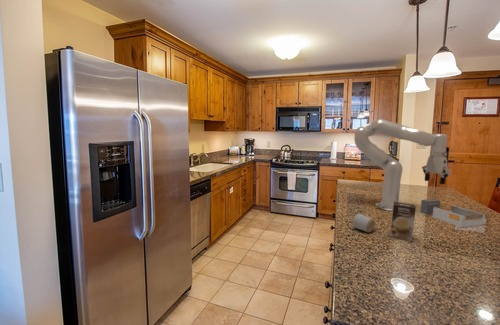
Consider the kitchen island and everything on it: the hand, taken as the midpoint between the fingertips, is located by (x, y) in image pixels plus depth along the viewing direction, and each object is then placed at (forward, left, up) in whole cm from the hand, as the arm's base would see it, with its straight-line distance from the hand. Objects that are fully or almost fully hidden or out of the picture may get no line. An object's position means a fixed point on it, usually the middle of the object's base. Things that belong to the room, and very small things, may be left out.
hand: (434, 182), depth 158 cm
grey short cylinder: (-59, -13, -20) cm, 64 cm away
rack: (+1, -15, -19) cm, 24 cm away
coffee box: (-49, -25, -20) cm, 58 cm away
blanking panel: (-1, 0, -19) cm, 19 cm away
